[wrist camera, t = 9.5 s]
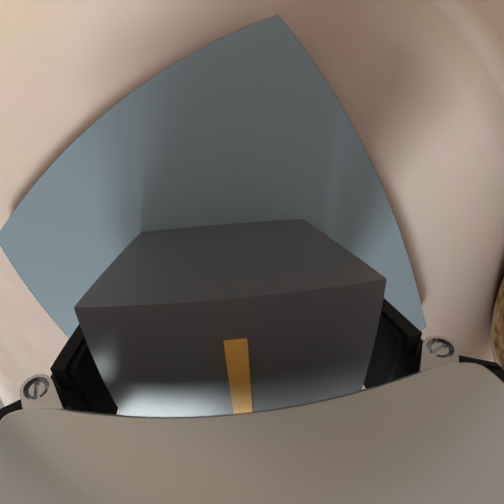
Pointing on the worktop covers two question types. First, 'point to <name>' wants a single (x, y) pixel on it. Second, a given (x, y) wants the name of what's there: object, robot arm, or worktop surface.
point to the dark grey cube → (231, 319)
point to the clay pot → (498, 327)
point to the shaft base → (208, 171)
